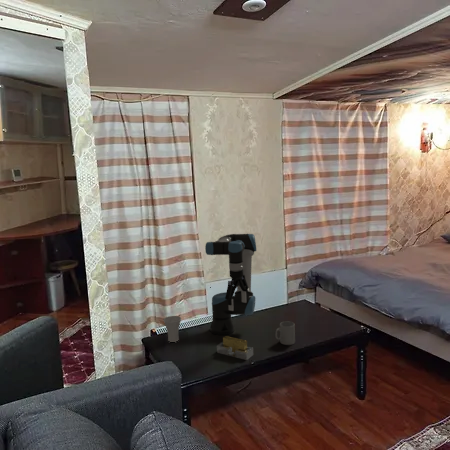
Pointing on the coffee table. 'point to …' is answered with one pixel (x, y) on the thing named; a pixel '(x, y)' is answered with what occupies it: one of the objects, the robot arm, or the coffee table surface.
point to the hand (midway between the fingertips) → (237, 306)
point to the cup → (172, 327)
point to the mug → (286, 333)
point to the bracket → (237, 353)
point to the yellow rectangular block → (235, 343)
